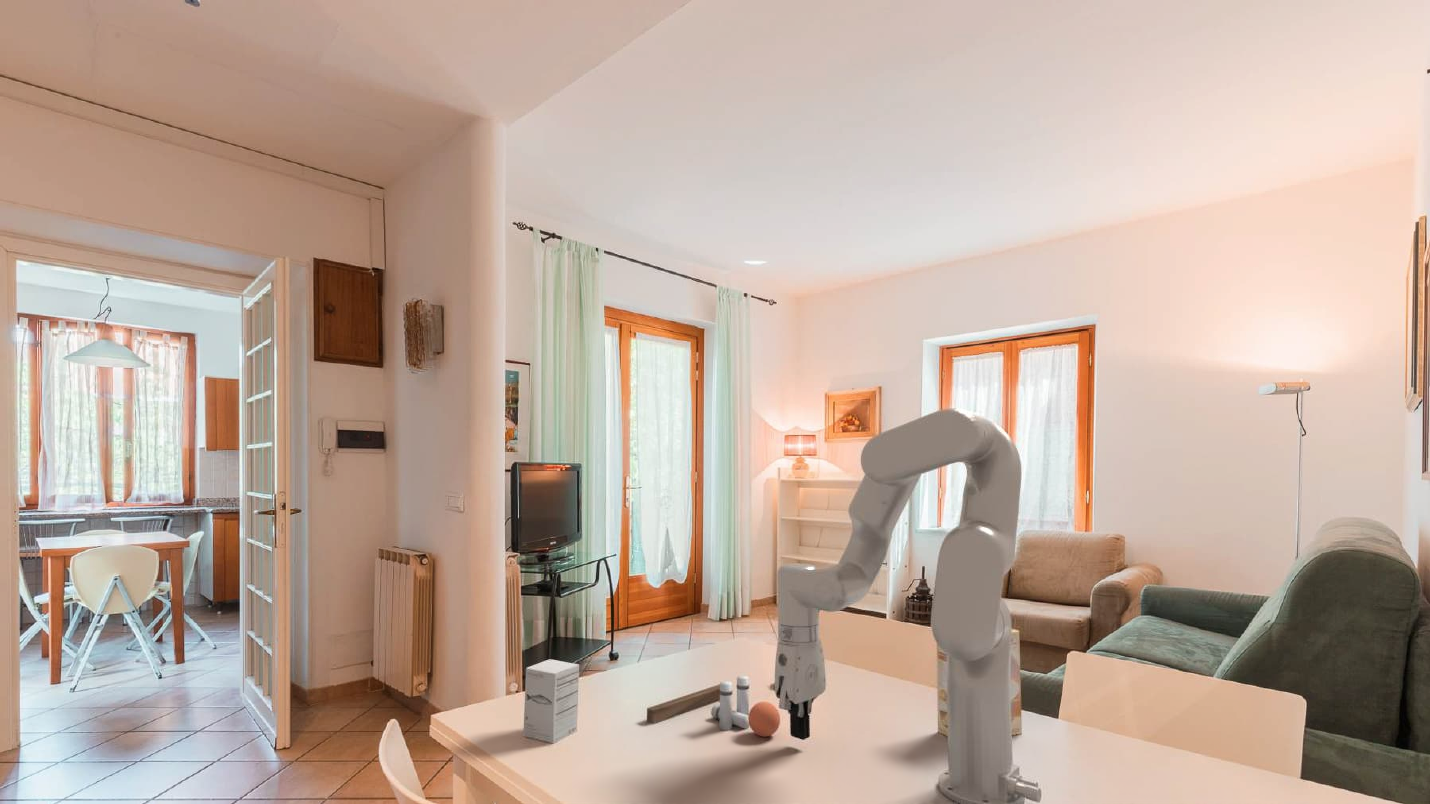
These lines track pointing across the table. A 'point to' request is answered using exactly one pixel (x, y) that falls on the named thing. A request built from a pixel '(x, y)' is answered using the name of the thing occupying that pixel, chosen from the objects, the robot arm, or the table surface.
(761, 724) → the ball
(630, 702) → the table surface
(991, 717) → the robot arm
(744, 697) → the pin
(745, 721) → the front pin
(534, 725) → the supplement box
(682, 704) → the back wall
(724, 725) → the pin
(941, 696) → the coffeecake box
